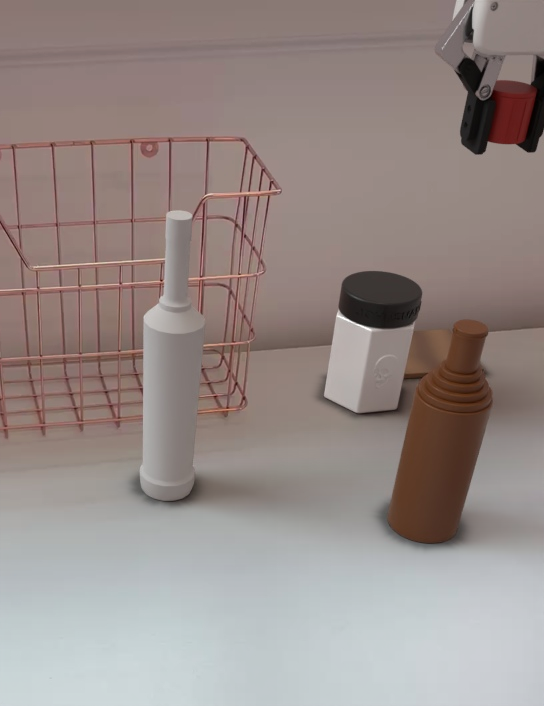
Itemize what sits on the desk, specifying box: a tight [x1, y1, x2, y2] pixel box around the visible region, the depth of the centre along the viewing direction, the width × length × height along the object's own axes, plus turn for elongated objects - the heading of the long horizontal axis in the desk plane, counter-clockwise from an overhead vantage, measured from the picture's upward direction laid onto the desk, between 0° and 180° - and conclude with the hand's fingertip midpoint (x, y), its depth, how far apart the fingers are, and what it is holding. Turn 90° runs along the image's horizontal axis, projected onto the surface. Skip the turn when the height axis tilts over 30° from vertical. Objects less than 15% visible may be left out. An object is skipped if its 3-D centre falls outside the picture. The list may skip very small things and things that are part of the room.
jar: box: [323, 270, 423, 414], centre depth 107 cm, size 9×8×12 cm
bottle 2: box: [386, 318, 494, 544], centre depth 88 cm, size 6×6×19 cm
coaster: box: [403, 328, 485, 380], centre depth 118 cm, size 10×10×1 cm
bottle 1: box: [139, 209, 207, 502], centre depth 88 cm, size 5×5×25 cm
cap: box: [488, 79, 537, 145], centre depth 82 cm, size 4×4×4 cm
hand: (498, 145), depth 83 cm, fingers closed on cap, 3 cm apart
